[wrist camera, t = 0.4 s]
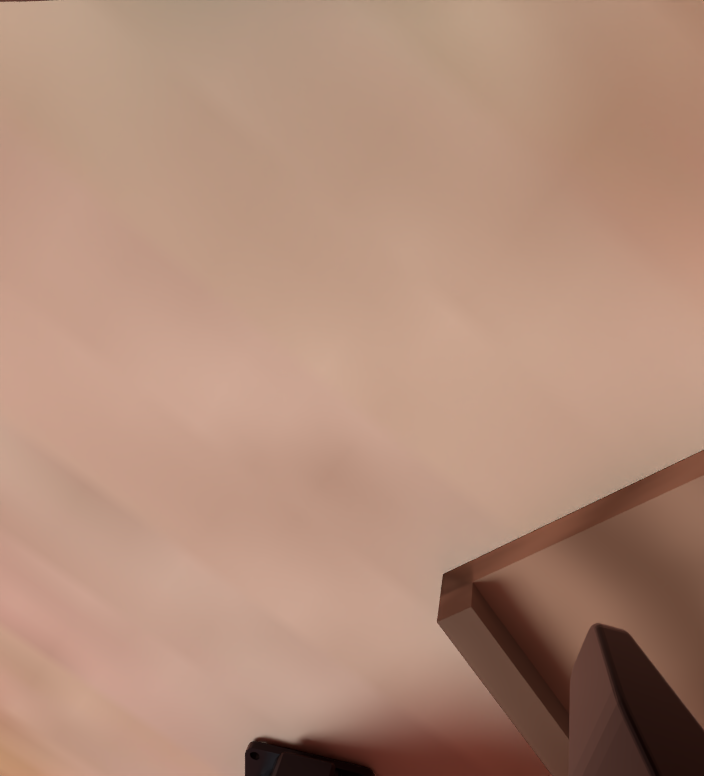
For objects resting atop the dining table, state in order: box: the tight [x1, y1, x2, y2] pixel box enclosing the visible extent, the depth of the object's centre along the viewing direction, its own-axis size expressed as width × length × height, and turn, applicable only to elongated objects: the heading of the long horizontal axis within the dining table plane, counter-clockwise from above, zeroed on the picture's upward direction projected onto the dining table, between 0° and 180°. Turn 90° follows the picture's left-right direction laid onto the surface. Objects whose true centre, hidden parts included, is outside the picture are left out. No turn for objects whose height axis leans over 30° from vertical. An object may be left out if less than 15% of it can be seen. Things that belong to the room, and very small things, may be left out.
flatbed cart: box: [437, 450, 704, 776], centre depth 24 cm, size 13×16×3 cm
